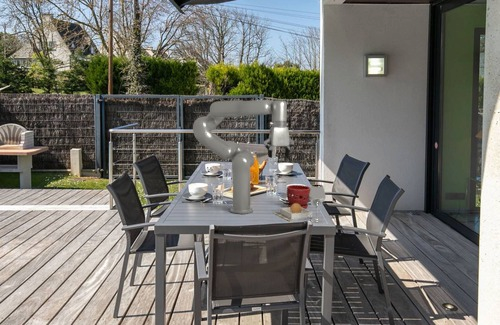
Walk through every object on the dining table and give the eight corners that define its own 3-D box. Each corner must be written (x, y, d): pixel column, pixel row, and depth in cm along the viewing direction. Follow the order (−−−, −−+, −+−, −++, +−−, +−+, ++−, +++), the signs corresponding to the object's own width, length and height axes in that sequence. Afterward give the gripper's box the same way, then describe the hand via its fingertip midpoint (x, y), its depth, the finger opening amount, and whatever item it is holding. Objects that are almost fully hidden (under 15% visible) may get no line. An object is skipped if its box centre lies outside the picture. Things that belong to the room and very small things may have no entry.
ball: (287, 213, 258) (288, 202, 258) (298, 213, 261) (298, 202, 260) (293, 216, 253) (293, 204, 252) (303, 215, 255) (304, 204, 254)
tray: (279, 213, 261) (279, 208, 261) (299, 211, 266) (299, 206, 265) (291, 219, 248) (291, 213, 248) (312, 217, 253) (312, 212, 252)
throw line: (273, 213, 262) (273, 212, 262) (275, 213, 262) (275, 212, 262) (290, 222, 244) (290, 221, 244) (293, 221, 244) (293, 221, 244)
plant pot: (284, 209, 271) (285, 188, 269) (288, 204, 283) (288, 184, 282) (308, 211, 268) (308, 189, 266) (311, 206, 280) (311, 185, 279)
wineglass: (323, 219, 250) (323, 184, 248) (326, 223, 242) (327, 187, 240) (307, 219, 250) (307, 184, 248) (309, 223, 242) (310, 187, 239)
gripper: (266, 125, 248) (266, 158, 250) (297, 124, 254) (296, 157, 257) (261, 124, 255) (260, 157, 257) (290, 123, 261) (290, 155, 263)
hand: (278, 157), depth 257 cm, fingers open, 9 cm apart
